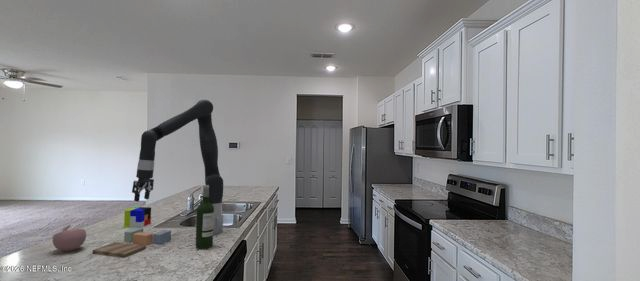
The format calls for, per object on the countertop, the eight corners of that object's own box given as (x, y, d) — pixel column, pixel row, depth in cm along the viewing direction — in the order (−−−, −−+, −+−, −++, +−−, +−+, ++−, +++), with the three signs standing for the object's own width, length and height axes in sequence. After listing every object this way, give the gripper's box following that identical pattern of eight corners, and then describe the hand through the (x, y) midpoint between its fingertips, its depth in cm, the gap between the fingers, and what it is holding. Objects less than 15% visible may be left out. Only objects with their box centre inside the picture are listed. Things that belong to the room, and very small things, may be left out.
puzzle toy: (140, 228, 183) (141, 210, 183) (124, 227, 183) (124, 210, 183) (150, 223, 193) (151, 207, 193) (134, 223, 193) (135, 206, 193)
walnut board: (145, 248, 148) (145, 245, 148) (124, 257, 136) (124, 254, 136) (115, 245, 152) (115, 242, 152) (92, 253, 140) (92, 250, 140)
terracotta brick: (152, 243, 156) (152, 233, 156) (146, 245, 152) (146, 235, 152) (138, 241, 158) (139, 232, 158) (132, 244, 154) (132, 234, 154)
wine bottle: (207, 250, 149) (209, 187, 149) (192, 248, 150) (194, 186, 151) (215, 244, 156) (217, 184, 157) (201, 243, 158) (203, 184, 158)
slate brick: (164, 239, 163) (164, 229, 163) (170, 240, 162) (171, 230, 162) (152, 244, 155) (153, 234, 155) (159, 245, 154) (160, 234, 154)
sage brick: (136, 237, 165) (136, 227, 165) (142, 237, 165) (143, 228, 165) (124, 241, 158) (124, 231, 158) (130, 242, 157) (131, 232, 157)
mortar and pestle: (81, 244, 151) (82, 220, 151) (89, 250, 144) (90, 225, 144) (49, 250, 142) (50, 225, 142) (55, 257, 134) (56, 230, 134)
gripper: (144, 170, 155) (140, 202, 154) (160, 168, 169) (156, 198, 168) (129, 168, 155) (125, 201, 154) (146, 167, 169) (142, 197, 168)
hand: (141, 200), depth 161 cm, fingers open, 8 cm apart
